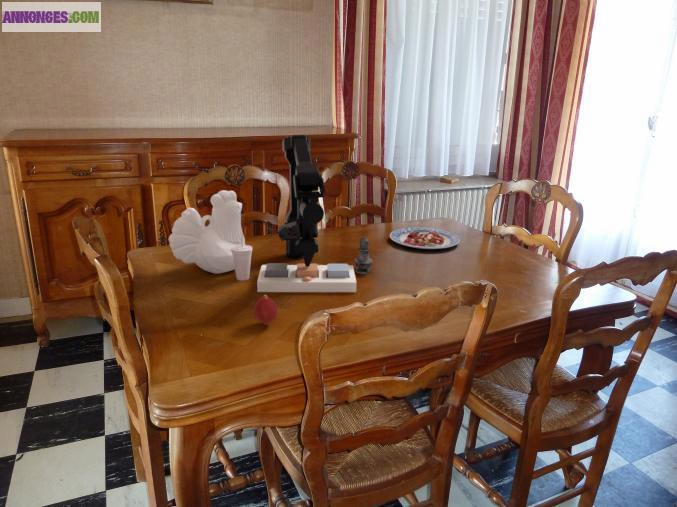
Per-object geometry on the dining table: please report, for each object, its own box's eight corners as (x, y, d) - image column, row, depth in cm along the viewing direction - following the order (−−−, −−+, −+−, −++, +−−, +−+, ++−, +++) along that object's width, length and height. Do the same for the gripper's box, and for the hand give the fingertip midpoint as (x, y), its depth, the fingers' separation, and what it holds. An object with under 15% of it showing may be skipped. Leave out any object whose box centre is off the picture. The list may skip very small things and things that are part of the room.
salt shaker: (371, 275, 162) (372, 238, 158) (352, 273, 163) (353, 236, 159) (373, 268, 168) (375, 233, 164) (355, 267, 169) (356, 231, 165)
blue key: (327, 280, 152) (328, 270, 151) (327, 272, 158) (327, 263, 157) (348, 280, 152) (348, 270, 151) (347, 273, 158) (347, 263, 157)
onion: (255, 319, 131) (254, 290, 129) (278, 318, 132) (277, 289, 129) (253, 330, 126) (252, 299, 123) (277, 329, 127) (277, 299, 124)
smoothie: (257, 276, 159) (256, 232, 155) (247, 283, 154) (245, 238, 149) (238, 273, 161) (236, 229, 157) (228, 280, 155) (225, 235, 151)
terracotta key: (296, 280, 151) (296, 270, 150) (297, 272, 157) (297, 263, 156) (317, 280, 152) (317, 270, 151) (317, 272, 157) (317, 263, 156)
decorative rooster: (235, 256, 176) (232, 183, 168) (256, 270, 164) (254, 192, 156) (160, 270, 162) (153, 191, 154) (178, 287, 150) (170, 202, 142)
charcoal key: (265, 280, 151) (265, 270, 150) (267, 272, 157) (267, 263, 156) (286, 280, 151) (286, 270, 150) (287, 272, 157) (287, 263, 156)
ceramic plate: (391, 230, 210) (391, 223, 209) (456, 234, 206) (457, 227, 205) (387, 251, 185) (388, 243, 184) (461, 255, 182) (462, 247, 181)
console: (257, 291, 148) (257, 280, 147) (262, 274, 161) (261, 263, 160) (356, 292, 149) (356, 280, 148) (352, 274, 162) (353, 263, 161)
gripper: (280, 206, 157) (281, 255, 162) (276, 223, 139) (277, 277, 144) (318, 206, 157) (317, 255, 162) (318, 223, 140) (318, 278, 145)
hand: (307, 266), depth 153 cm, fingers closed
